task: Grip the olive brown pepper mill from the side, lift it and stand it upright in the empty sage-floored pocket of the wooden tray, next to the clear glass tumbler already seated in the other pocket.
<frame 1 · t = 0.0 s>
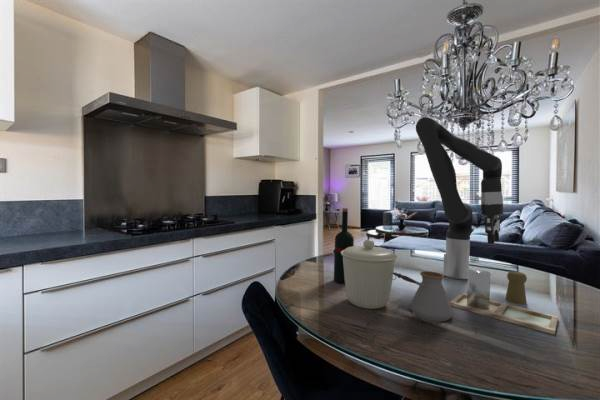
hand: (493, 242, 115), 17 cm above the table, tool pointing down, fingers open, 8 cm apart
wine bottle: (344, 282, 113), on the table
wooden tray: (500, 316, 84), on the table
olive brown pepper mill: (515, 305, 94), on the table
clear glass tumbler: (477, 306, 88), point 1 cm above the table, touching wooden tray
canister: (367, 303, 92), on the table
coffee pot: (418, 321, 80), on the table
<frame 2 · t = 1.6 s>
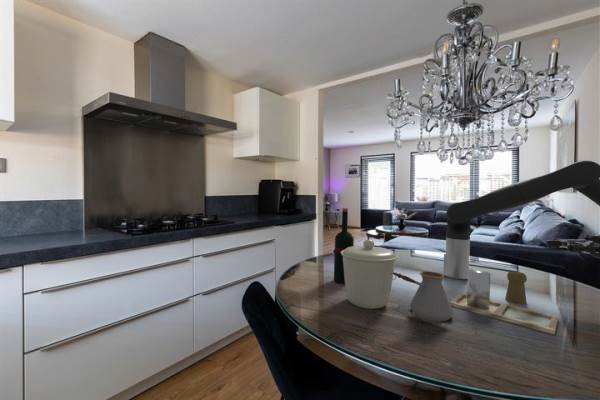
hand: (557, 245, 92), 20 cm above the table, tool horizontal, fingers open, 8 cm apart
nothing on the table moved.
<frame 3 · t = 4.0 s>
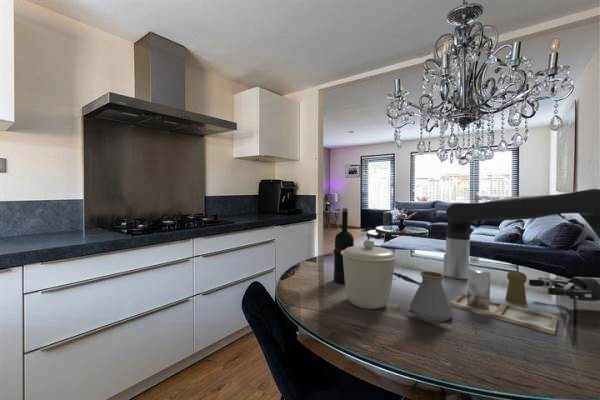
hand: (538, 286, 93), 6 cm above the table, tool horizontal, fingers open, 8 cm apart
nothing on the table moved.
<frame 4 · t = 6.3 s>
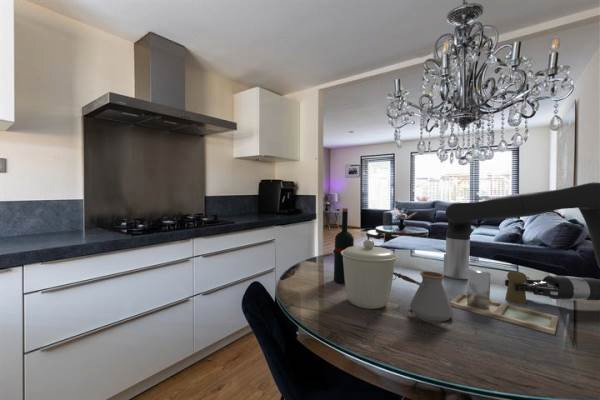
hand: (510, 284, 94), 7 cm above the table, tool horizontal, fingers closed on olive brown pepper mill, 4 cm apart
olive brown pepper mill: (515, 305, 94), on the table, touching gripper
everything else where it was.
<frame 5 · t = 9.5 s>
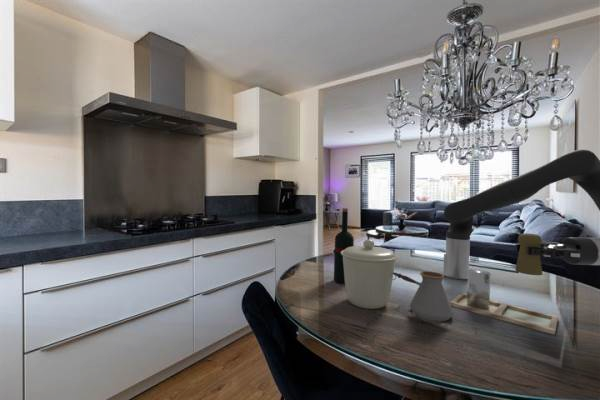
hand: (521, 249, 80), 21 cm above the table, tool horizontal, fingers closed on olive brown pepper mill, 4 cm apart
olive brown pepper mill: (528, 272, 80), point 14 cm above the table, touching gripper
everything else where it was.
when the fingers open (8 cm above the table, at t = 13.2 s): olive brown pepper mill stays where it is, resting on wooden tray.
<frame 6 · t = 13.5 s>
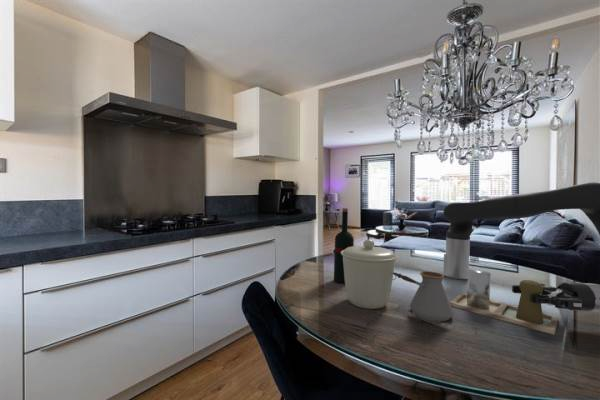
hand: (521, 293, 80), 8 cm above the table, tool horizontal, fingers open, 7 cm apart
olive brown pepper mill: (529, 320, 79), point 1 cm above the table, touching wooden tray
everything else where it was.
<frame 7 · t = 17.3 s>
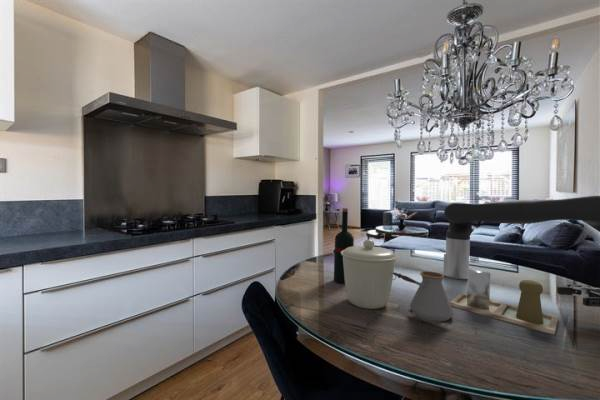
hand: (570, 295, 78), 9 cm above the table, tool horizontal, fingers open, 8 cm apart
nothing on the table moved.
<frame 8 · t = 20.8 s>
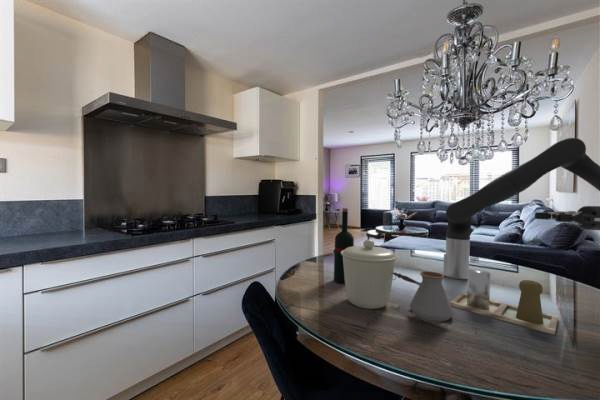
hand: (545, 216, 89), 30 cm above the table, tool horizontal, fingers open, 8 cm apart
nothing on the table moved.
at the end: olive brown pepper mill 0.9 cm from the target spot on the wooden tray, point 1.1 cm above the wooden tray's base; olive brown pepper mill tilted 0°; the gripper is holding nothing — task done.
